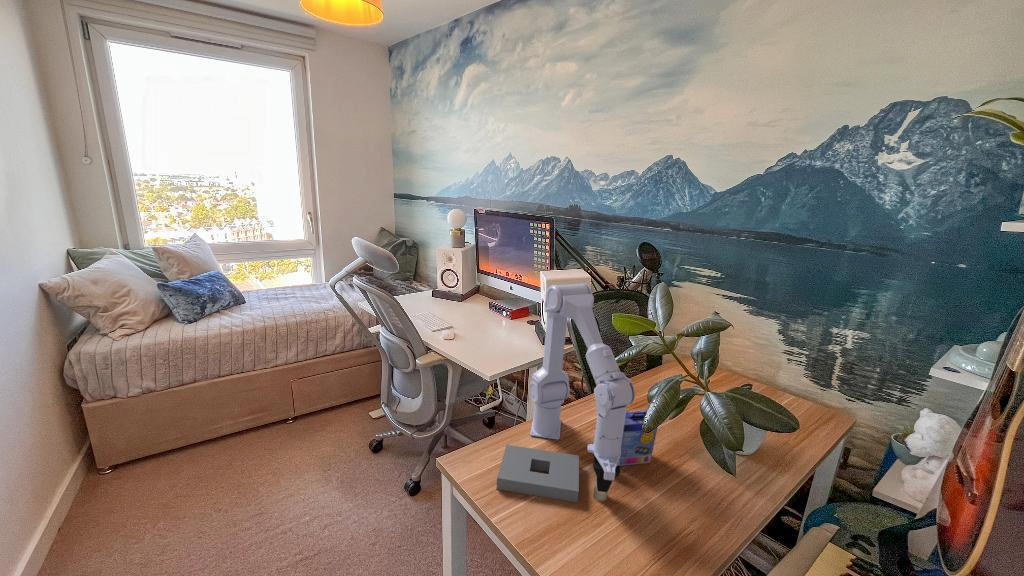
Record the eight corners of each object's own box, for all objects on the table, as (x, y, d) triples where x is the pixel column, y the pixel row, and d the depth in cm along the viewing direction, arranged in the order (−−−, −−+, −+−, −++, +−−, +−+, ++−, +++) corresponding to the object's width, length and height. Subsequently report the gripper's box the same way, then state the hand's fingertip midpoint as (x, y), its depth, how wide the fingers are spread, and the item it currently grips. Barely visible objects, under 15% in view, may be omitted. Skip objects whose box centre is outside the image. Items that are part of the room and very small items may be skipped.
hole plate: (505, 454, 104) (506, 444, 103) (577, 466, 101) (579, 455, 100) (496, 489, 92) (497, 477, 91) (577, 502, 90) (578, 491, 89)
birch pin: (593, 490, 94) (597, 460, 91) (606, 492, 93) (610, 462, 91) (593, 500, 91) (597, 469, 89) (607, 502, 90) (611, 472, 88)
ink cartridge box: (616, 468, 101) (624, 416, 97) (606, 453, 106) (613, 403, 103) (652, 463, 104) (661, 413, 100) (641, 449, 109) (649, 401, 105)
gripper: (588, 410, 95) (582, 460, 98) (592, 450, 81) (585, 507, 84) (619, 413, 94) (611, 464, 98) (628, 455, 80) (620, 512, 84)
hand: (601, 484), depth 91 cm, fingers closed on birch pin, 3 cm apart
